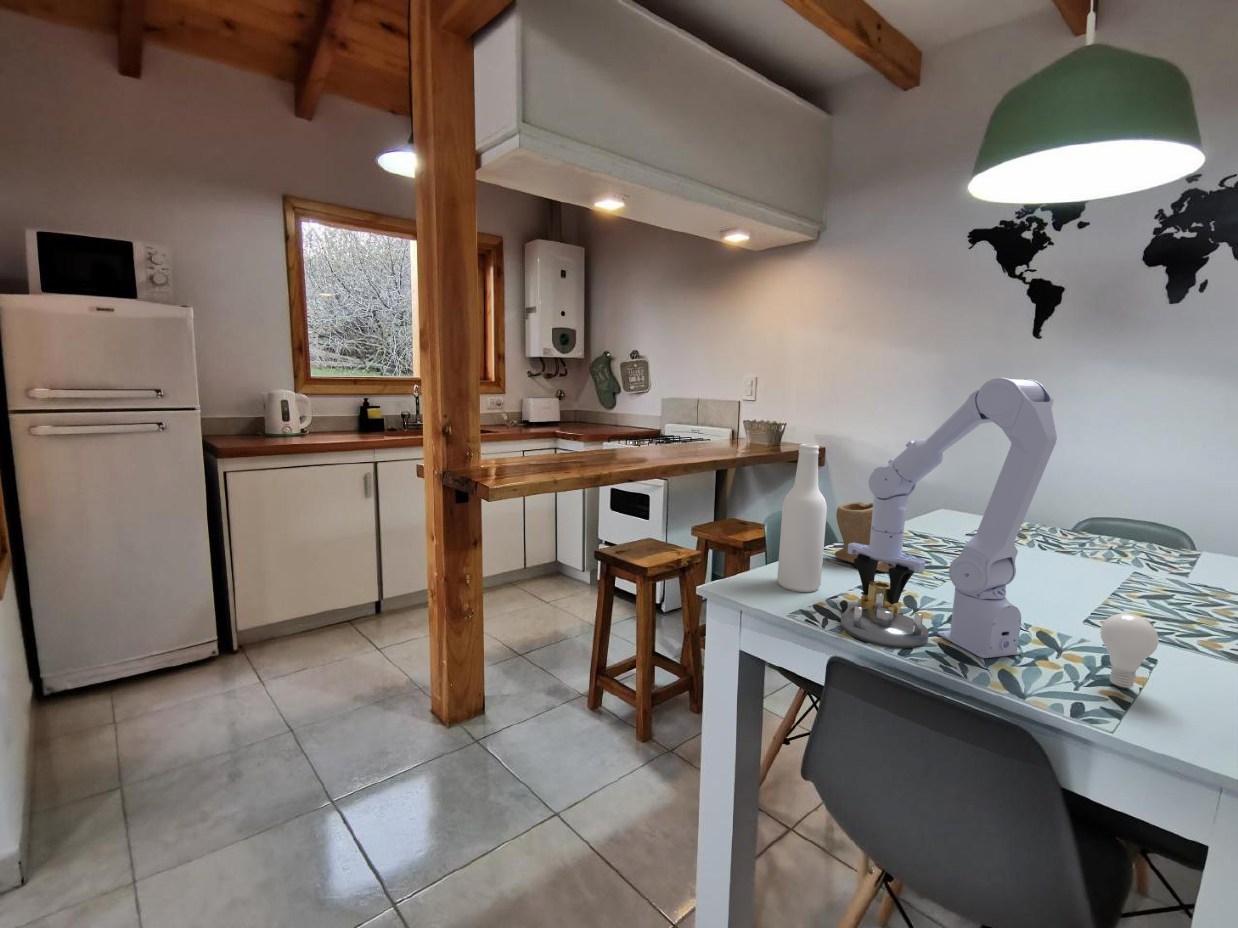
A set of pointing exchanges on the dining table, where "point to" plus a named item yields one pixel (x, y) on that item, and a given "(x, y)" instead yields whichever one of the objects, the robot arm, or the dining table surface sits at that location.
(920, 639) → the carrier
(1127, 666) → the lightbulb
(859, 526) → the stone cup
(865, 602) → the planet gear
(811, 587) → the alcohol
